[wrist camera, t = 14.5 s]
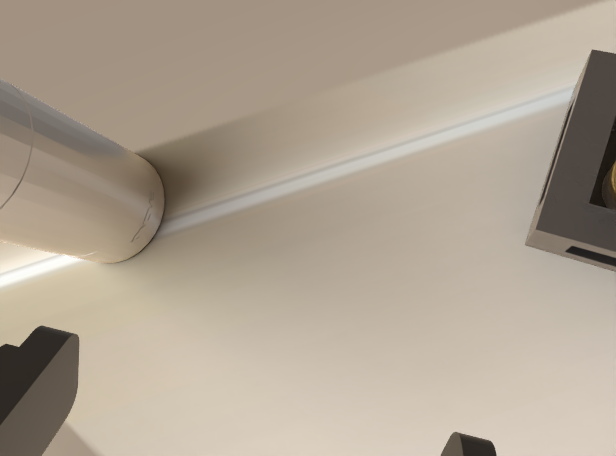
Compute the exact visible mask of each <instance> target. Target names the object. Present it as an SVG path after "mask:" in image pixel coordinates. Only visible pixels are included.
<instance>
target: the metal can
mask: <svg viewBox="0 0 616 456" xmlns="http://www.w3.org/2000/svg"><path fill="white" fill-rule="evenodd" d="M602 197H603V200H604V203H605V205H606V206H607V208H609V209H612V210H616V161H615V162H614V164H613V165H612V167H611V169H610V170H609V171H608V173H607V174H606V176H605V178H604V180H603V184H602Z"/></svg>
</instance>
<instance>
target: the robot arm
mask: <svg viewBox="0 0 616 456" xmlns="http://www.w3.org/2000/svg"><path fill="white" fill-rule="evenodd" d="M164 201H165V198H164V189H163V185H162V182H161V179H160V177H159V175H158V173H157V172H156V170H155V168H154V167H153V166H152V165H151V164H150V163H149V162H148V161H146V160H145V159H143V158H141V157H140V156H138V155H136V154H135V153H133V152H131V151H129V150H127V149H126V148H124V147H122V146H120V145H119V144H117V143H115V142H114V141H112V140H110V139H108V138H107V137H105V136H103V135H101V134H99V133H98V132H96V131H94V130H92V129H91V128H89V127H87V126H85V125H83V124H82V123H80V122H78V121H76V120H75V119H73V118H71V117H69V116H67V115H66V114H64V113H62V112H60V111H59V110H57V109H55V108H53V107H51V106H49V105H48V104H46V103H44V102H42V101H41V100H39V99H37V98H35V97H34V96H32V95H30V94H28V93H26V92H25V91H23V90H21V89H19V88H17V87H15V86H14V85H12V84H10V83H8V82H6V81H4V80H2V79H1V78H0V242H3V243H8V244H13V245H17V246H22V247H27V248H32V249H37V250H42V251H47V252H51V253H56V254H61V255H65V256H70V257H75V258H80V259H85V260H90V261H95V262H101V263H116V262H120V261H123V260H126V259H129V258H130V257H132V256H134V255H135V254H137V253H139V252H140V251H141V250H142V249H143V248H144V247H145V246H146V245H147V244H148V243H149V242H150V240H151V239H152V238H153V236H154V235H155V233H156V231H157V229H158V227H159V225H160V223H161V219H162V215H163V212H164ZM78 365H79V337H78V335H77V334H73V333H69V332H65V331H61V330H57V329H53V328H49V327H45V326H39V327H37V328H36V329H35V330H34V331H33V332H32V333H31V334H30V336H29V337H28V338H27V339H26V340H25V341H24V342H23V343H22V344H21V346H20V347H16V346H13V345H9V344H5V345H3V346H1V347H0V456H42V454H43V453H44V451H45V450H46V448H47V447H48V445H49V444H50V442H51V441H52V439H53V438H54V436H55V435H56V433H57V431H58V430H59V429H60V427H61V425H62V424H63V422H64V421H65V419H66V418H67V416H68V414H69V413H70V410H71V408H72V406H73V403H74V401H75V397H76V394H77V388H78ZM441 456H496V451H495V448H494V445H493V443H492V442H491V441H489V440H485V439H481V438H477V437H473V436H469V435H465V434H461V433H457V432H454V433H453V434H452V435H451V436H450V438H449V440H448V442H447V444H446V446H445V448H444V450H443V452H442V454H441Z"/></svg>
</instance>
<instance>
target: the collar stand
mask: <svg viewBox="0 0 616 456" xmlns="http://www.w3.org/2000/svg"><path fill="white" fill-rule="evenodd" d="M611 131H615V132H616V54H614V53H608V52H603V51H597V50H592V51H591V53H590V55H589V57H588V60H587V62H586V64H585V66H584V69H583V71H582V73H581V75H580V77H579V80H578V82H577V84H576V86H575V88H574V91H573V94H572V97H571V100H570V104H569V107H568V110H567V113H566V116H565V119H564V123H563V126H562V129H561V132H560V135H559V138H558V142H557V145H556V148H555V151H554V154H553V157H552V161H551V164H550V167H549V170H548V173H547V176H546V180H545V183H544V186H543V189H542V192H541V195H540V199H539V202H538V205H537V208H536V211H535V214H534V218H533V221H532V224H531V227H530V230H529V233H528V237H527V240H526V243H525V245H527V246H530V247H534V248H537V249H540V250H544V251H547V252H551V253H554V254H557V255H561V256H564V257H568V258H571V259H575V260H578V261H581V262H585V263H588V264H592V265H595V266H599V267H602V268H605V269H609V270H612V271H616V210H612V209H609V208H605V207H601V206H597V205H593V204H589V201H590V198H591V195H592V192H593V188H594V185H595V182H596V178H597V175H598V172H599V169H600V165H601V162H602V159H603V156H604V152H605V149H606V146H607V143H608V139H609V136H610V133H611Z"/></svg>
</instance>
